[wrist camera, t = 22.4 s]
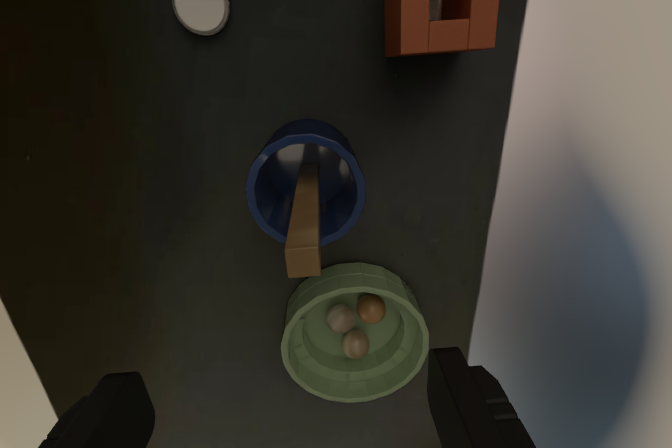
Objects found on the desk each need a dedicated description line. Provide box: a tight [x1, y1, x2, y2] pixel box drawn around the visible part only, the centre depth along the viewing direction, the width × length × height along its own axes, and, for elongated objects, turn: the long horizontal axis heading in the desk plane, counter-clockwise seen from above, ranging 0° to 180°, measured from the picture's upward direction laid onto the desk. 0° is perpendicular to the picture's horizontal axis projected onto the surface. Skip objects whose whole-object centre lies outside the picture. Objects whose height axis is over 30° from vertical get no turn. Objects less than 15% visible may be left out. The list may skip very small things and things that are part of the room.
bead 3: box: [356, 294, 386, 324], centre depth 36 cm, size 3×3×3 cm
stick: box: [284, 164, 321, 278], centre depth 24 cm, size 2×2×16 cm
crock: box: [245, 119, 366, 246], centre depth 28 cm, size 8×8×8 cm
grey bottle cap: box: [172, 0, 230, 36], centre depth 26 cm, size 4×4×1 cm
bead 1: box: [326, 303, 355, 334], centre depth 36 cm, size 3×3×3 cm
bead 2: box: [341, 329, 370, 359], centre depth 38 cm, size 3×3×3 cm
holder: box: [384, 0, 499, 57], centre depth 25 cm, size 6×6×6 cm
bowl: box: [281, 262, 429, 403], centre depth 36 cm, size 14×14×5 cm
